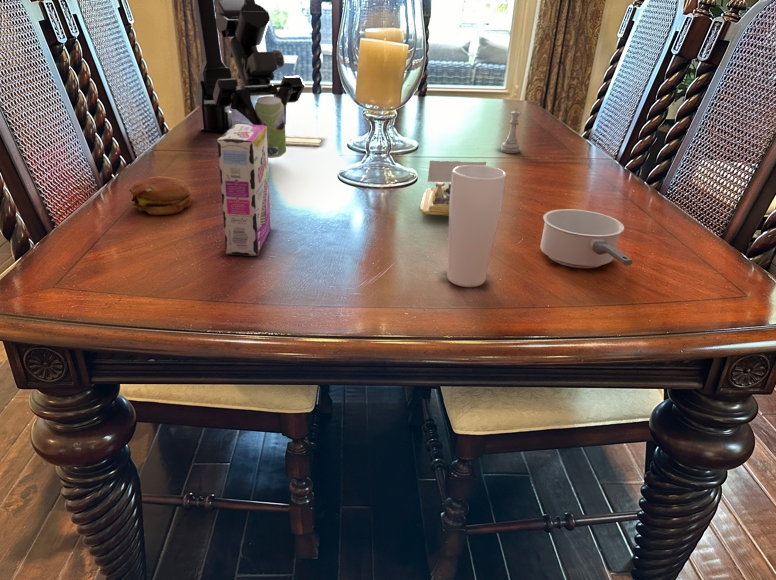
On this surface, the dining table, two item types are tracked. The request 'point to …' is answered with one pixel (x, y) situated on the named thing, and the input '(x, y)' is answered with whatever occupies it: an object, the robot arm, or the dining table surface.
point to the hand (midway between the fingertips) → (271, 126)
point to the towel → (303, 141)
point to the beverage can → (272, 124)
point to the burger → (161, 195)
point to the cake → (440, 187)
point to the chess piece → (512, 135)
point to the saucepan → (582, 238)
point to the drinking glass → (473, 221)
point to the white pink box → (245, 188)
